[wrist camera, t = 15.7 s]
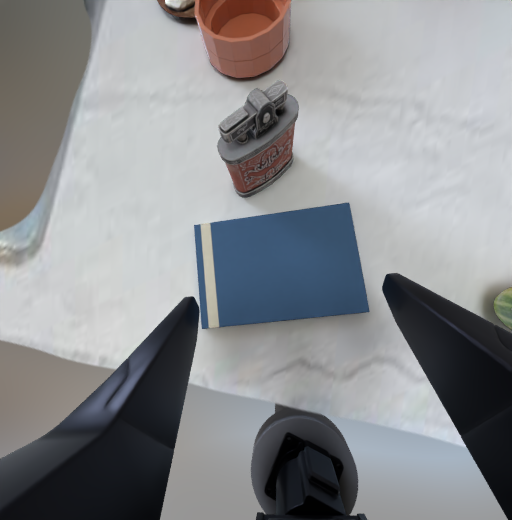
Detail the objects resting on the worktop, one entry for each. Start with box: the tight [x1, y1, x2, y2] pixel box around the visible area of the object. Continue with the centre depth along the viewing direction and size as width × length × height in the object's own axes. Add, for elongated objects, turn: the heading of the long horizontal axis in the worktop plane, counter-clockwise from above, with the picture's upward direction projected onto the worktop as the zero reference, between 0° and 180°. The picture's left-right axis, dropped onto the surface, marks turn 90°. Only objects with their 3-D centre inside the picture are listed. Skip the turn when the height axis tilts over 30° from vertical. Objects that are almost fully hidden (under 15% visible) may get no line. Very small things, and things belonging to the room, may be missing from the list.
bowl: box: [194, 0, 291, 78], centre depth 26 cm, size 11×11×4 cm
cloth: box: [194, 203, 369, 329], centre depth 23 cm, size 12×18×1 cm, turn 97°
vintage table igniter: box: [217, 80, 299, 197], centre depth 20 cm, size 8×3×10 cm, turn 127°
